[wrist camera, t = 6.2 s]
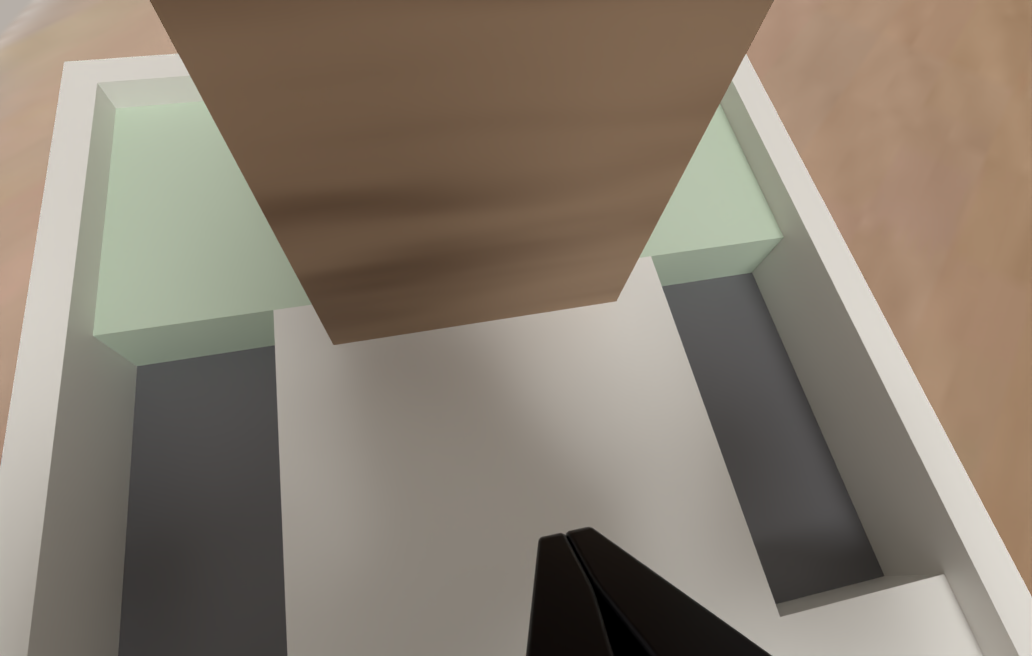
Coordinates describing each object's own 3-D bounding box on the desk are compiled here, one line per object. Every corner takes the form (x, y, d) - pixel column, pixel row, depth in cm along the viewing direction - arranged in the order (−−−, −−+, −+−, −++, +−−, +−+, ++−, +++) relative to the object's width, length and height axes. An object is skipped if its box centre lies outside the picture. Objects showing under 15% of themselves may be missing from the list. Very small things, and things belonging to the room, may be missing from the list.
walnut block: (616, 301, 16) (802, -54, 7) (333, 345, 15) (139, -20, 6) (552, 99, 20) (626, -321, 11) (314, 121, 18) (167, -336, 9)
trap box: (961, 687, 15) (1092, 713, 12) (53, 961, 12) (-100, 1100, 8) (690, 91, 24) (725, 14, 21) (126, 144, 20) (64, 62, 17)
